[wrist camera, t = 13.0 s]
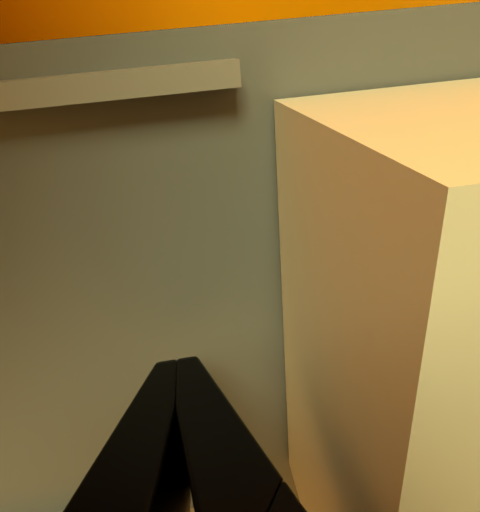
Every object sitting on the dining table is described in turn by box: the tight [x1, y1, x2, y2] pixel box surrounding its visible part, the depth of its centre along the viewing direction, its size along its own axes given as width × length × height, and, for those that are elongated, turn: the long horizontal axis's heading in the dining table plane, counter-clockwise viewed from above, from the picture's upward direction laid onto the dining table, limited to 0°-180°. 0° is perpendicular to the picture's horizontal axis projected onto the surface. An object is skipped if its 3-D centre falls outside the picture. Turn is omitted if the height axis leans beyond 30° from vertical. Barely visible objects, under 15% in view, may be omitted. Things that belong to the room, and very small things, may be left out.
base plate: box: [0, 2, 480, 512], centre depth 10 cm, size 21×18×3 cm
